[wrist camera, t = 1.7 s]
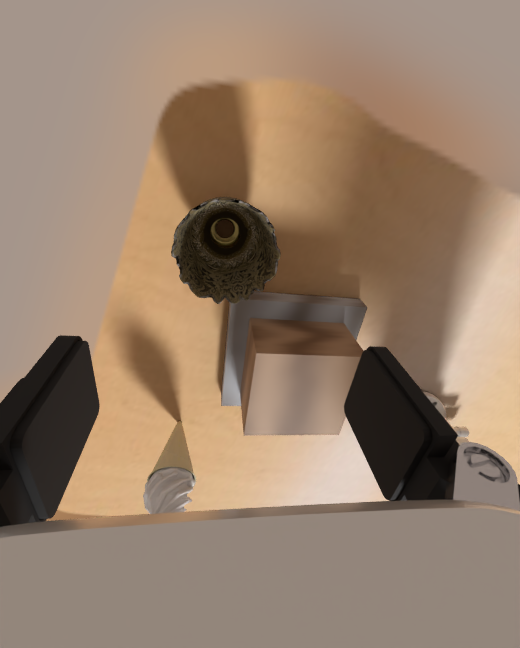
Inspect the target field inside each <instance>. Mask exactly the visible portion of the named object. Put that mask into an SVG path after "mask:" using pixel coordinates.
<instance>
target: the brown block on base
mask: <svg viewBox="0 0 520 648" xmlns="http://www.w3.org/2000/svg"><path fill="white" fill-rule="evenodd" d="M366 310H367V306H366V305H365V304H364V303H363V302H362V301H361V300H360V299H354V298H340V297H326V296H311V295H297V294H283V293H268V292H254V293H253V294H252V295H251V296H250V298H249V299H248V300H247V301H246V300H242V299H241V300H240V302H238V303H235V304H234V303H230V302H229V313H228V324H227V336H226V347H225V358H224V369H223V380H222V391H221V406H241V409H242V420H243V431H244V435H339V433H340V431H341V428H342V425H343V422H344V420H345V417H346V415H345V412H344V403H345V400H346V398H347V395H348V392H349V389H350V386H351V383H352V380H353V378H354V375H355V372H356V369H357V366H358V363H359V361H360V358H361V355H362V353H363V350H362V348H361V347H360V345H359V344H358V343H357V341H356V339H357V336H358V333H359V331H360V328H361V325H362V322H363V319H364V316H365V313H366Z"/></svg>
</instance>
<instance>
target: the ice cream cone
mask: <svg viewBox="0 0 520 648" xmlns="http://www.w3.org/2000/svg"><path fill="white" fill-rule="evenodd" d="M195 483H196V477H195V475H194V473H193V469H192V464H191V460H190V456H189V451H188V447H187V443H186V439H185V434H184V430H183V426H182V422H181V421H178V423H177V425H176V427H175V428H174V430H173V432H172V434H171V436H170V438H169V440H168V442H167V444H166V446H165V448H164V450H163V452H162V454H161V456H160V458H159V460H158V462H157V464H156V465H155V467H154V469H153V471H152V473H151V474H150V475H149V477H148V479H147V483H146V485H145V492H144V495H143V497H144V504H145V509H146V510H147V511H148V512H149V513H150V514H159V513H175V512H184V511H186V509H185V508H184V505H185V504H187V503H189V502H191V501H192V500H191V499H190V498H189V497H187V494H188V493H189V492H191V491H192V490H193V487H194V485H195Z"/></svg>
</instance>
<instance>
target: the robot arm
mask: <svg viewBox="0 0 520 648" xmlns="http://www.w3.org/2000/svg"><path fill="white" fill-rule="evenodd" d="M98 412H99V399H98V393H97V388H96V382H95V377H94V372H93V366H92V361H91V355H90V350H89V345H88V342H87V341H82V338H81V337H80V336H58V337H57V338H56V339H55V341H54V342H53V343H52V344H51V345H50V347H49V348H48V349H47V350H46V352H45V353H44V354H43V355H42V357H41V358H40V359H39V360H38V362H37V363H36V364H35V365H34V366H33V368H32V369H31V370H30V372H29V373H28V374H27V375H26V377H25V378H22V379H21V380H20V381H19V382H18V383H17V384H16V385H15V386H14V387H13V388H12V390H11V391H10V392H9V393H8V395H7V396H6V397H5V399H4V400H3V401H2V402H1V403H0V648H520V485H519V484H518V483H517V477H516V474H515V472H514V470H513V469H512V467H511V466H510V464H509V463H508V462H507V461H506V460H505V459H504V458H503V457H501V456H500V455H499V454H497V453H496V452H495V451H493V450H491V449H489V448H488V447H486V446H483V445H480V444H478V443H472V442H469V441H468V439H467V438H465V437H467V436H468V435H469V431H468V429H467V428H466V427H452V426H451V425H450V424H449V422H448V421H447V420H446V409H445V407H444V405H443V404H442V402H441V401H440V400H439V399H438V398H437V397H436V396H434V395H433V394H430V393H428V392H423V391H422V390H421V389H420V388H419V387H418V385H417V384H416V383H415V382H414V380H413V379H412V378H411V377H410V376H409V374H408V373H407V372H406V371H405V369H404V368H403V367H402V366H401V365H400V363H399V362H398V361H397V360H396V358H395V357H394V356H393V355H392V354H391V352H390V351H389V350H388V349H387V348H386V347H368V348H367V350H365V351H363V353H362V355H361V358H360V361H359V363H358V366H357V369H356V372H355V375H354V378H353V380H352V383H351V386H350V389H349V392H348V395H347V398H346V400H345V403H344V412H345V415H346V417H347V419H348V421H349V423H350V425H351V428H352V430H353V432H354V434H355V436H356V438H357V440H358V443H359V445H360V447H361V449H362V451H363V453H364V455H365V457H366V460H367V462H368V464H369V466H370V468H371V470H372V472H373V475H374V477H375V479H376V481H377V483H378V485H379V487H380V489H381V492H382V494H383V496H384V497H385V498H386V499H387V500H390V501H382V502H361V503H340V504H320V505H301V506H282V507H263V508H245V509H227V510H209V511H192V512H175V513H159V514H142V515H125V516H109V517H96V518H83V519H70V520H58V521H46V519H48V518H52V517H53V516H54V515H55V513H56V511H57V508H58V506H59V504H60V501H61V499H62V497H63V494H64V492H65V490H66V487H67V485H68V483H69V480H70V478H71V476H72V473H73V471H74V469H75V467H76V464H77V462H78V460H79V457H80V455H81V453H82V450H83V448H84V446H85V443H86V441H87V439H88V436H89V434H90V432H91V429H92V427H93V425H94V422H95V420H96V418H97V415H98Z"/></svg>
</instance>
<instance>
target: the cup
mask: <svg viewBox="0 0 520 648" xmlns="http://www.w3.org/2000/svg"><path fill="white" fill-rule="evenodd" d="M221 220H229V221H230V222H231V223H232V224H233V226H234V232H233V234H232V235H231V236H230V237H227V238H223V237H220V236H219V235H218V234H217V232H216V225H217V223H218V222H219V221H221ZM274 232H275V229H274V227H273V225H272V224H271V223H270V222H269V220H268V218H267V216H266V215H265V214H264V213H263V212H261V211H260V210H258V209H256V208H255V207H253V206H251V205H250V204H248V203H246V202H244V201H242V200H239V199H236V198H231V197H218V198H213V199H210V200H207V201H205V202H203V203H202V204H200V205H199V206H197V207H195V208H193V209H192V210H190V211H189V213H188V214H187V216H186V217H185V218H184V219H183V220H182V221H181V223H180V224H179V225H178V227H177V228H176V230H175V234H174V244H173V246H172V251H171V254H172V257H174V258H176V260H177V265H178V266H179V269H180V275H179V277H180V279H181V281H182V282H183V283H184V284H188V285H189V288H190V289H191V291H192V292H193V293H194V294H195V295H196V296H197V297H199V298H207V297H212V298H213V301H214V302H215V303H217V304H220V303H221V302H222V301H223V299H224V298H226V299H227V300H228V301H229V302H230V303H234V304H235V303H238V302H240V300H241V299H242V300H246V301H247V300H248V299H249V298H250V296H251V295H252V294H253V293H254V290H257V291H263V290H264V284H265V283H266V282H267V281H270V280H271V279H272V278H273V277H274V276H275V275H276V273H277V266H278V260H280V250H279V249H278V247H277V243H276V236H275V234H274Z"/></svg>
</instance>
